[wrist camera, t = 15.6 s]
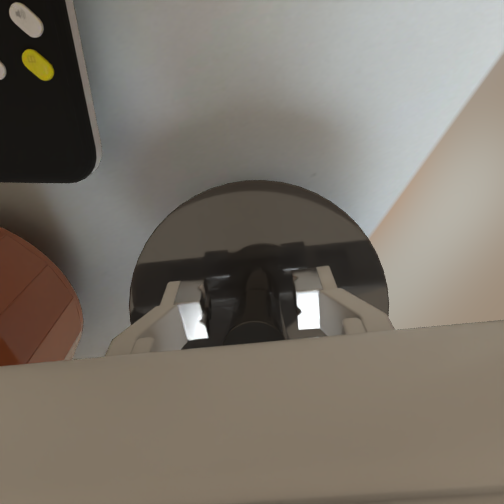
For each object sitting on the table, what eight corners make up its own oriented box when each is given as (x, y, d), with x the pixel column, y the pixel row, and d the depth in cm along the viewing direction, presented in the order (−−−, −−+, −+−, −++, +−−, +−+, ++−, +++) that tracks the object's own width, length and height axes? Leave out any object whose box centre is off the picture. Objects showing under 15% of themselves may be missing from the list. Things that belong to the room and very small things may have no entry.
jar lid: (312, 454, 20) (333, 563, 14) (101, 359, 20) (29, 427, 14) (427, 248, 19) (507, 271, 12) (195, 137, 18) (160, 104, 12)
